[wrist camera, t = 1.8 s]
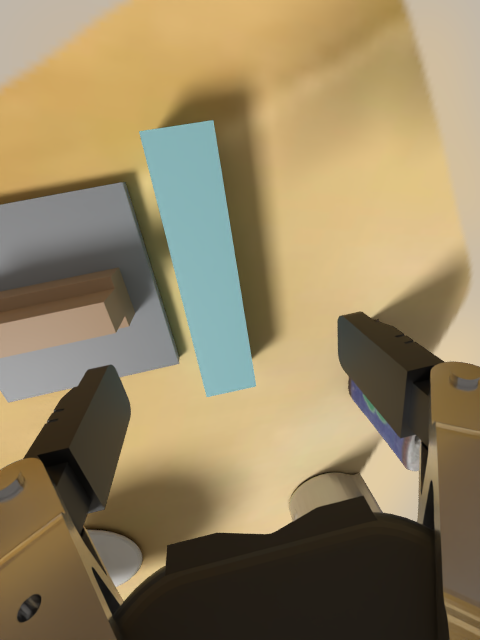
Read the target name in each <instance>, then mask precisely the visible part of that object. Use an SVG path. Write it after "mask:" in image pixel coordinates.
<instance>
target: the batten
mask: <svg viewBox="0 0 480 640" xmlns="http://www.w3.org/2000/svg"><path fill="white" fill-rule="evenodd" d="M139 133H140V137H141V141H142V145H143V149H144V152H145V156H146V160H147V164H148V168H149V172H150V176H151V180H152V184H153V188H154V192H155V196H156V200H157V203H158V207H159V211H160V215H161V219H162V223H163V227H164V231H165V235H166V239H167V243H168V247H169V251H170V255H171V258H172V262H173V266H174V270H175V274H176V278H177V282H178V286H179V290H180V294H181V298H182V302H183V306H184V310H185V313H186V317H187V321H188V325H189V329H190V333H191V337H192V341H193V345H194V349H195V353H196V357H197V361H198V364H199V368H200V372H201V376H202V380H203V384H204V388H205V392H206V396H207V397H210V396H214V395H219V394H223V393H228V392H232V391H237V390H242V389H246V388H251V387H255V386H256V382H255V376H254V370H253V364H252V358H251V351H250V345H249V339H248V333H247V326H246V320H245V314H244V308H243V302H242V295H241V289H240V283H239V277H238V271H237V264H236V258H235V252H234V246H233V239H232V233H231V227H230V221H229V215H228V208H227V202H226V196H225V190H224V183H223V177H222V171H221V165H220V159H219V152H218V146H217V140H216V134H215V128H214V121H213V120H211V121H204V122H197V123H191V124H184V125H178V126H171V127H165V128H158V129H152V130H145V131H139Z"/></svg>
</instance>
